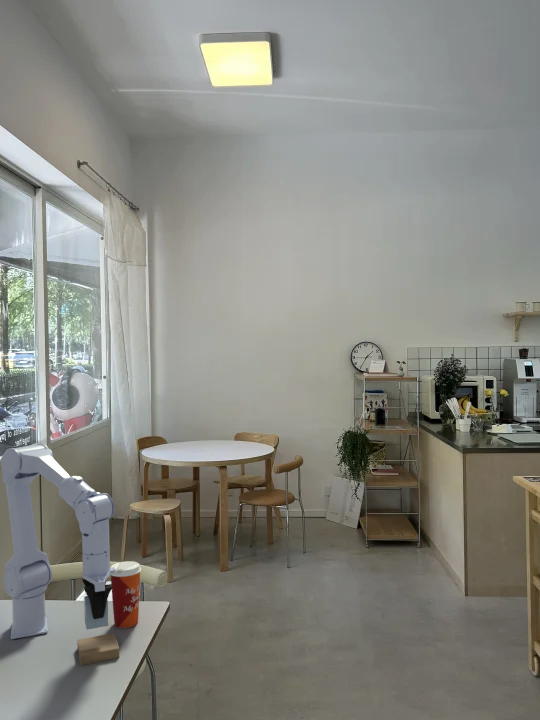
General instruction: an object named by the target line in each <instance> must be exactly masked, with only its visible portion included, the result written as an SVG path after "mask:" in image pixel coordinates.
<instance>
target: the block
mask: <svg viewBox="0 0 540 720" xmlns="http://www.w3.org/2000/svg"><path fill="white" fill-rule="evenodd" d="M83 599H84V600H83V603H84V625H85V629H86V631H88V630H92V629H98V628H102V627H104V628H105V627H107V626H109V600H108V599H107V603H106V608H105V614H104V617H103V618H99V619H94V618H93V615H92V610H91V605H90V601H89V598H88V596H87V595H84V597H83Z"/></svg>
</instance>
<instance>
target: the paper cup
mask: <svg viewBox="0 0 540 720" xmlns="http://www.w3.org/2000/svg"><path fill="white" fill-rule="evenodd" d="M113 567H114V568H115V570H116V572H115V573H112V574H110V584H111V585H112V589H111V597H112V599H111V600H112V609H113V610H112V612H113V622H114V626H115V628H118V629H128V628H132V627H134V626H136V625H138V623H139V610H140V609H139V608H140V579H141V571H142V568H141V566H140V563H138V562H137V561H134V560H133V561H131V560H130V561H127V560H126V561H119V562H116V563H114V564H112V565H110V568H113Z"/></svg>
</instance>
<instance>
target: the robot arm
mask: <svg viewBox="0 0 540 720" xmlns="http://www.w3.org/2000/svg"><path fill="white" fill-rule="evenodd" d="M0 465H1V473H2V474H1V475H2V482H3V484H5V489H6V490H5V492H6V498H7V506H8V508H7V509H8V514H9V515H8V516H9V521H10V531H11V532H10V533H11V538H12V546H13V554H12V556H11V557H10V559H8V561H7V562H6V563H5V565H4V578H3V587H4V589H5V593H6V594H7V595H9V597H11V598H12V600H11V601H12V622H11V629H10V639H11V640H15V639H20V638H26V637H33V636H38V635H43V634H47V633H48V618H47V617H48V616H46V591H47V590H48V585H49V584H50V583H51V582H52V580H53V569H52V566H51V564H50V561H49V556H48V554H47V553H46V552H43V551H42V550H40V549H39V548H38V540H37V533H36V532H37V531H36V526H35V519H34V518H35V516H34V509H33V501H32V494H31V488H30V487H31V484H32V482H33V481H34V479H35V478H37V477H38V476H40V475H41V476H42V477H44V478H45V479H46V480H47V481H49V483H51V484H53V485H54V486H55V487H57V488H58V496H59V498H61V499H62V500H64V501H65V503H67V504H68V505H69V506H70V507H71V508H72V509H73V510H74V513H75V514H74V515H75V517H76V520H77V522H78V524H79V526H78V527H79V531H80V533H81V544H82V545H81V546H82V551H81V553H82V572H81V577H82V578H81V580H82V583H83V584H84V587H83V588H84V592H85V594H86V596H88V598H89V601H90V605H91V610H92V615H93V618H94V619H99V618H103V617H104V614H105V608H106V603H107V600H108V598H109V595H110V594H111V592H112V585H111V583H109V584H107V581H108V579H109V577H111V575H110V574H112V573H115V572H116V570H115V568H114V567H113V568H111V565H110V563H111V562H110V561H111V558H110V555H111V553H110V552H111V551H110V550H111V549H110V519H112V517H113V516H114V514H115V503H114V500H113V498H112V497H111V496H110V494H109V493H106V492H103V493H101V492H99V491H98V492H97V491H96V490H95V489H93V488H92V487H91V486H90V485H88V483H86V482H85V481H84V478H83V477H82V476H79V475H72V476H71V475H69V473H68V472H67V471H66V470H65V469H64V468H63V467H62V466H61V465H60V464H59V463H58V462H57V461H56V460H55V459H54V455H53V450H52V449H50V448H49V447H48V445H46V443H39V444H36V445H35V444H34V445H29V446H21V447H15V448H14V447H11V448H10V447H9V448H7V449H6V450H5V451H4V453H3V455H2V456H1V457H0Z"/></svg>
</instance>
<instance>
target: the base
mask: <svg viewBox="0 0 540 720" xmlns="http://www.w3.org/2000/svg"><path fill="white" fill-rule="evenodd" d="M77 653H78V659H79V666H84V665H89V664H90V665H91V664H94V663H95V664H96V663H99V662H104V661H109V660H113V659H114V660H115V659H118V658H119V659H120V646H119V644H118V641H117V638H116V633H115V632H111V633H106V634H102V635H95V636H90V637H86V638H80V639H77Z"/></svg>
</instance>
